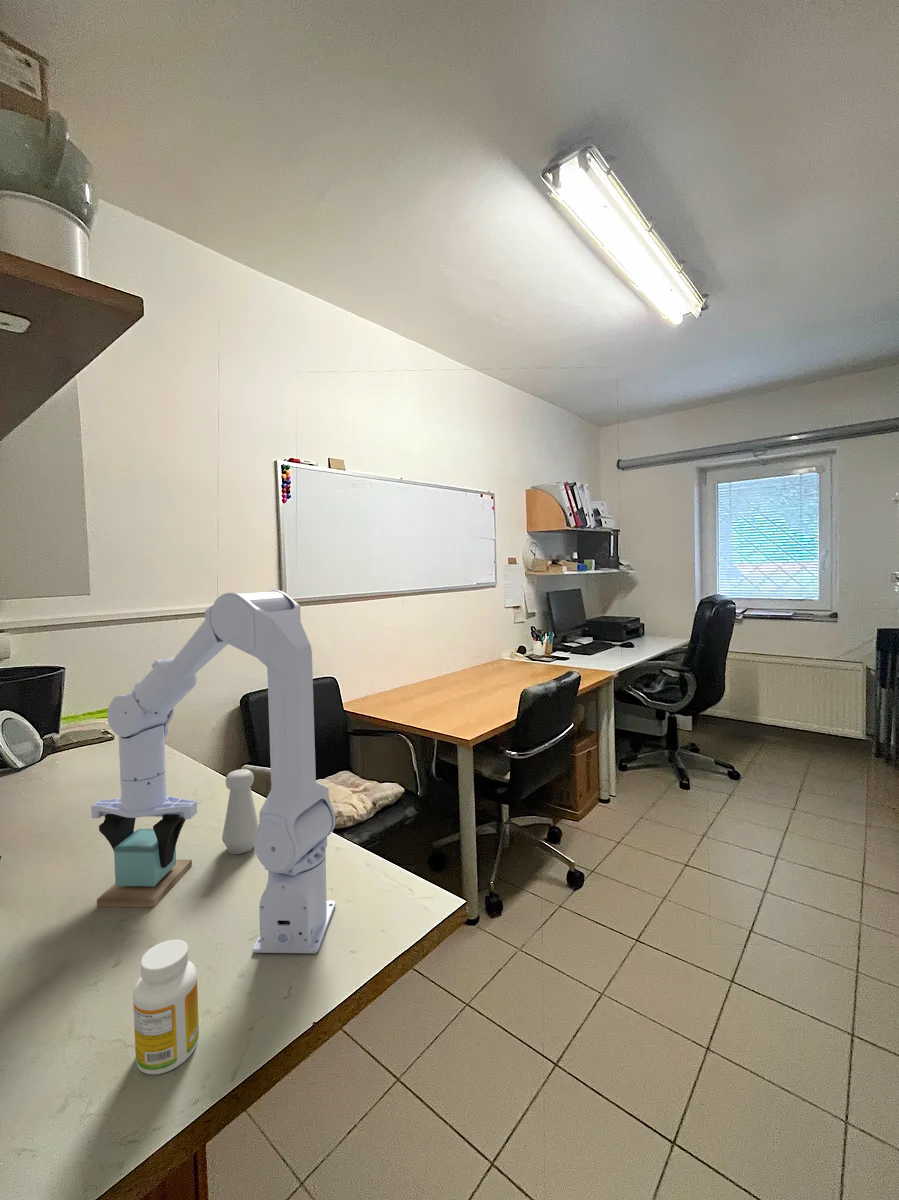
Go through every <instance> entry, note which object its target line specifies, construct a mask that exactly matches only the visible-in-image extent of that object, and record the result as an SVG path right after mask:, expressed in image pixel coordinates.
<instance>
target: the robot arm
mask: <svg viewBox="0 0 899 1200" xmlns="http://www.w3.org/2000/svg"><path fill="white" fill-rule="evenodd" d="M301 620H302V619H301V605H300V604H299V603H298V602H296V601H295V600H294V599H293V598H292V597H291V596H290V595H288V594H287V593H286V592H284V591H283V590H276V589H275V590H268V591H256V592H240V593H239V592H238V593H237V592H226V593H223V594H221V595H220V596H218V597H217V598H216V600H215V601H214V602H213V604H212V605H211V606H209V607H208V608H206V609H205V610H204V621H203V622H202V623H201V624H200V626H199V627H198V628H197V629H196V631H195V632H194V633H193V634H192V635H191V637H190V639H188V641H187V642H186V643H185V645H183V647H182V648H181V649H180V650H179V652H178V653H177V654H176V655H175V657H164V658H163V659H158V660H155V661H154V662H153V663H152V664H151V667H152V669H151V670H150V672H148V674H147V675H146V676H145V677H144V678H143V679H142V680H141V681H138V682H137V683H136V684H134V688H133V690H132V691H131V692H130V693H128V694H120V695H116V696H114V697H113V698H112V700H111V702H110V703H109V706H108V709H107V712H106V713H107V714H106V715H107V722H108V726H109V727H110V730H112V732H114V734H115V735H116V736H118V754H119V755H118V757H119V778H120V797H118V798H111V799H109V798H108V799H99V800H97V801H96V802H95V803H93V804H92V805H91V808H90V809H91V819H99V818H101V817H104V820H103V822H102V823H100V824H99V826H98V830H99V832H100V833H101V834H102V836H103V837H104V838H105V839H106V840H107V841H108V843H109V845H110V846H111V848H112V850H113V851H114V848H115V847H116V846H117V845H119V844H120V843H121V842H122V841H124V840H125V839H126V838H127V837H129V836H130V835H131V834H132V833H134V832H135V824H136V819H137V818H143V817H146V818H147V817H151V818H152V817H153V818H154V817H155V818H159V817H162V819H160V820H159V821H157V823H155V824H154V825H153V826H152V829H153V830H154V832H155V834H156V837H157V841H158V846H159V858H160V864H161V868H166V867H167V866H168V865H169V864H170V863H171V862H172V861H173V856H174V851H175V847H176V848H177V842H178V839H179V836H180V834H181V831H182V828H183V827H184V825H185V822H186V820H191V819H192V818H193V817H194V816H195V815H196V814H197V813H198V804H197V803H198V801H197V800H194V799H192V800H191V799H186V798H185V799H184V798H179V797H175V796H171V795H167V793H168V792H167V774H166V773H167V769H166V767H167V766H166V745H165V741H166V740H165V738H166V737H167V736H168V734H169V724H170V722H172V719H173V716H174V710H175V707H176V706H177V705H178V704H179V703H180V702H181V701H182V700H183V699H184V698H185V697H186V696H187V695H188V693H190V692H191V691H192V690H193V688H194V687H196V684H197V681H198V680H197V673H198V672H199V671H200V670H201V669H203V668H204V666H206V665H207V664H208V663H209V662H210V661H211V660H212V659H213V658H215V656H216V655H218V654H219V653H220V652H221V651H223V649H225V648H226V647H227V646H228V645H230V646H232V647H234V648H236V649H238V650H239V651H242V652H244V653H246V654H248V655H251V656H252V657H255V658H256V659H257V660H259V661H260V662H261V663H262V664H263V665H264V666H266V669H267V670H266V672H267V698H268V699H267V700H268V702H267V703H268V724H269V725H268V727H269V728H268V729H269V749H270V750H269V757H270V759H269V760H270V784H271V788H270V791H269V793H268V795H267V797H266V798H265V799H264V802H263V804H262V805H261V808H260V810H259V813H258V816H259V820H258V824H259V827H258V830H257V832H256V834H255V838H254V847H253V849H254V852H255V855H256V858H257V859H258V861H259V863H261V865H262V866H263V867H264V870H266V871H268V873H267V875H268V876H267V877H268V878H267V883H266V887H265V889H264V891H263V893H262V895H261V897H260V900H259V905H258V907H259V909H258V911H259V912H258V913H259V914H258V915H259V935H258V936H257V939H256V941H255V942H254V945H253V946H252V952H253V953H259V954H260V953H261V954H262V953H264V954H265V953H266V954H267V953H268V954H269V953H270V954H275V953H276V954H316V953H317V952H319V949H320V947H321V944H322V942H323V939H324V936H325V934H326V931H327V928H328V926H329V923H330V921H331V918H332V915H333V913H334V911H335V908H336V901H335V900H330V899H329V900H328V899H327V860H326V859H327V856H326V855H327V853H326V849H327V847H328V837H329V836H330V835H331V833H333V832H334V828H335V827H336V814H335V810H334V807H333V805H332V803H331V800H330V796H329V795H330V794H329V792H330V791H329V787H327V786H326V785H325V784H323V783H321V782H319V781H317V777H316V776H317V775H316V774H317V773H316V747H315V744H316V742H315V715H314V713H315V711H314V710H315V707H314V706H315V705H314V680H313V679H314V677H313V650H312V645H311V642H310V641H309V638H308V635H307V633H306V631H305V629H304V627H303V624H302V621H301Z"/></svg>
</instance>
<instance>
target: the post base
mask: <svg viewBox="0 0 899 1200" xmlns="http://www.w3.org/2000/svg"><path fill="white" fill-rule="evenodd" d="M192 866H193V860H192V859H176V865H175V866H174V867H173V868H172V869H171V870H170V871H169V872H168V873H167V874H166V875H165V876H164V877H163V878H162V879H161V880H160V881H159V882H158V883H157V884H156V885H155V886H116V884H115V883H113V885H111V886H110V887H109V888H108V889H107V890H105V892H103V893H102V894H101V895H100V896H98V898H97V899H96V906H97V907H103V908H104V907H105V908H106V907H111V908H113V907H114V908H115V907H117V908H124V907H125V908H155V907H156V906H157V905H158V904H159V902H161V900H162V899H163V898H165V896H166V895H167V894H168V893H169V892H170V891H171V889H172V888H174V886H175V885H176V884H178V882H179V881H180V879H182V878H183V876H185V874H186V873H187V872H188V871H189V870H190V869H191V868H192Z"/></svg>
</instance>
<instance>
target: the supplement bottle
mask: <svg viewBox="0 0 899 1200" xmlns="http://www.w3.org/2000/svg"><path fill="white" fill-rule="evenodd" d="M189 957H190V955H189V947H188V944H187V942H186V941H184V940H181V939H170V940H165V941H162V942H160V943H157V944H155V945H154V946H152V947H150V948H149V949H148V950H147V951H146V952H145V953H144V954H143V955H142V957H141V960H140V977H139V978H138V980H137V981H136V983H135V984H134V988H133V993H132V1000H133V1001H132V1002H133V1003H132V1004H133V1005H132V1006H133V1021H134V1022H133V1025H134V1048H135V1049H134V1050H135V1062H136V1066H137V1068H138V1069H139V1071H141V1073H144V1074H147V1075H162V1074H165V1073H167V1072H170V1071H172V1070H174V1069H176V1068H177V1067H179V1066H180V1065H182V1064H183V1063H184V1062H185V1061H187V1059H188V1058H190V1056H191V1055H192V1053H193V1052H194V1050H195V1049H196V1047H197V1045H198V1043H199V1039H200V1025H199V1024H200V1023H199V1022H200V1021H199V999H198V998H199V997H198V995H199V994H198V993H199V992H198V974H197V973H198V972H197V969H196V966H195V964H194V963H193V962H191V961H190V960H189V959H190V958H189Z"/></svg>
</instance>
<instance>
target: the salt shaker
mask: <svg viewBox="0 0 899 1200" xmlns="http://www.w3.org/2000/svg"><path fill="white" fill-rule="evenodd" d="M254 778H255V776H254V773H253V772H252V771H251V770H250V769H246V768H242V769H236V770H233V771H230V772H229V773H228V774H227V775H226V777H225V786H226V788H227V789H228V790H229V795H228V801H227V809H226V814H225V820H224V824H223V830H222V834H221V835H222V836H221V838H222V839H221V840H222V842H223V844H224V845H225V847H226V849H227V852H228V853H229V854H231V855H237V854H241V855H242V853H244V854H246V853H248V852H247V851H249V852H251V851H252V850H253V849H254V838H255V834H256V832H257V830H258V827H259V820H258V816H257V812H256V807H255V801H254V796H253V793H252V788H251V786H252V785H253V784H254ZM252 848H253V849H252ZM250 850H251V851H250ZM245 852H246V853H245Z"/></svg>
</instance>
